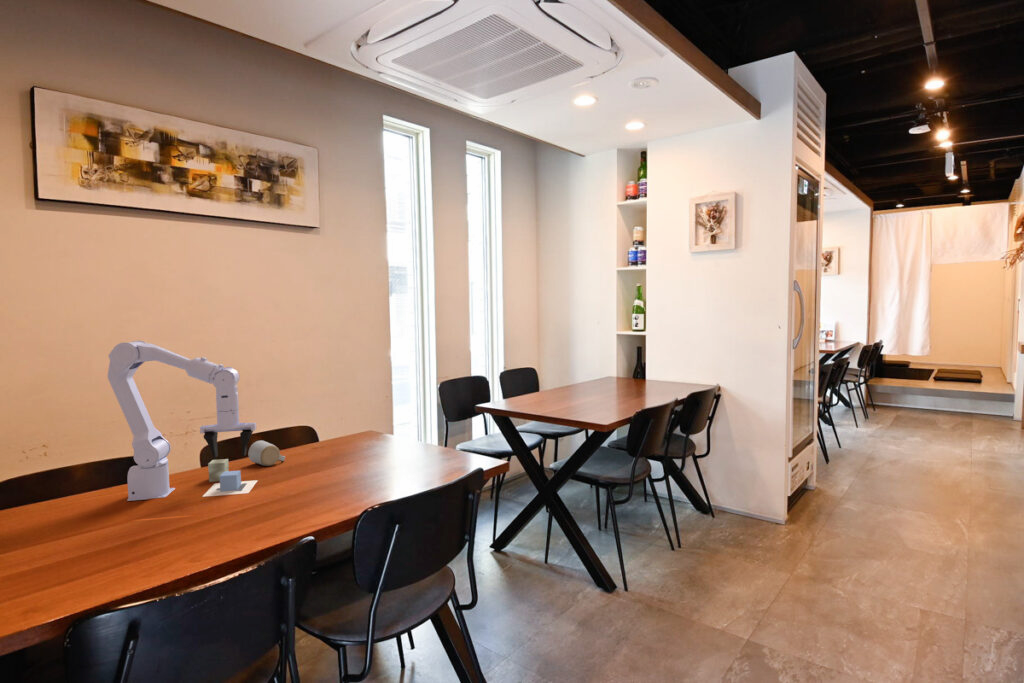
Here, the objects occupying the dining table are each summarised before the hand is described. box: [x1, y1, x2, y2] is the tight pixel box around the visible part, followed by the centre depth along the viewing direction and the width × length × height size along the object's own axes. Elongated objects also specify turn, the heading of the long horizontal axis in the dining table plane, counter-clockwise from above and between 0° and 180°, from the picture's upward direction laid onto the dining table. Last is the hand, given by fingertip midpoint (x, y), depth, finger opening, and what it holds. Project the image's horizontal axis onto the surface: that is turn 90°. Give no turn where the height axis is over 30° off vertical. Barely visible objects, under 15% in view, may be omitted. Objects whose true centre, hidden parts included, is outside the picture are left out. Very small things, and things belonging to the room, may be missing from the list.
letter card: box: [202, 479, 259, 498], centre depth 163 cm, size 12×12×1 cm
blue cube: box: [219, 470, 242, 492], centre depth 162 cm, size 4×4×4 cm
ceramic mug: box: [247, 440, 286, 467], centre depth 190 cm, size 11×8×8 cm
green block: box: [207, 458, 230, 483], centre depth 171 cm, size 4×4×6 cm
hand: (229, 456), depth 162 cm, fingers open, 7 cm apart
